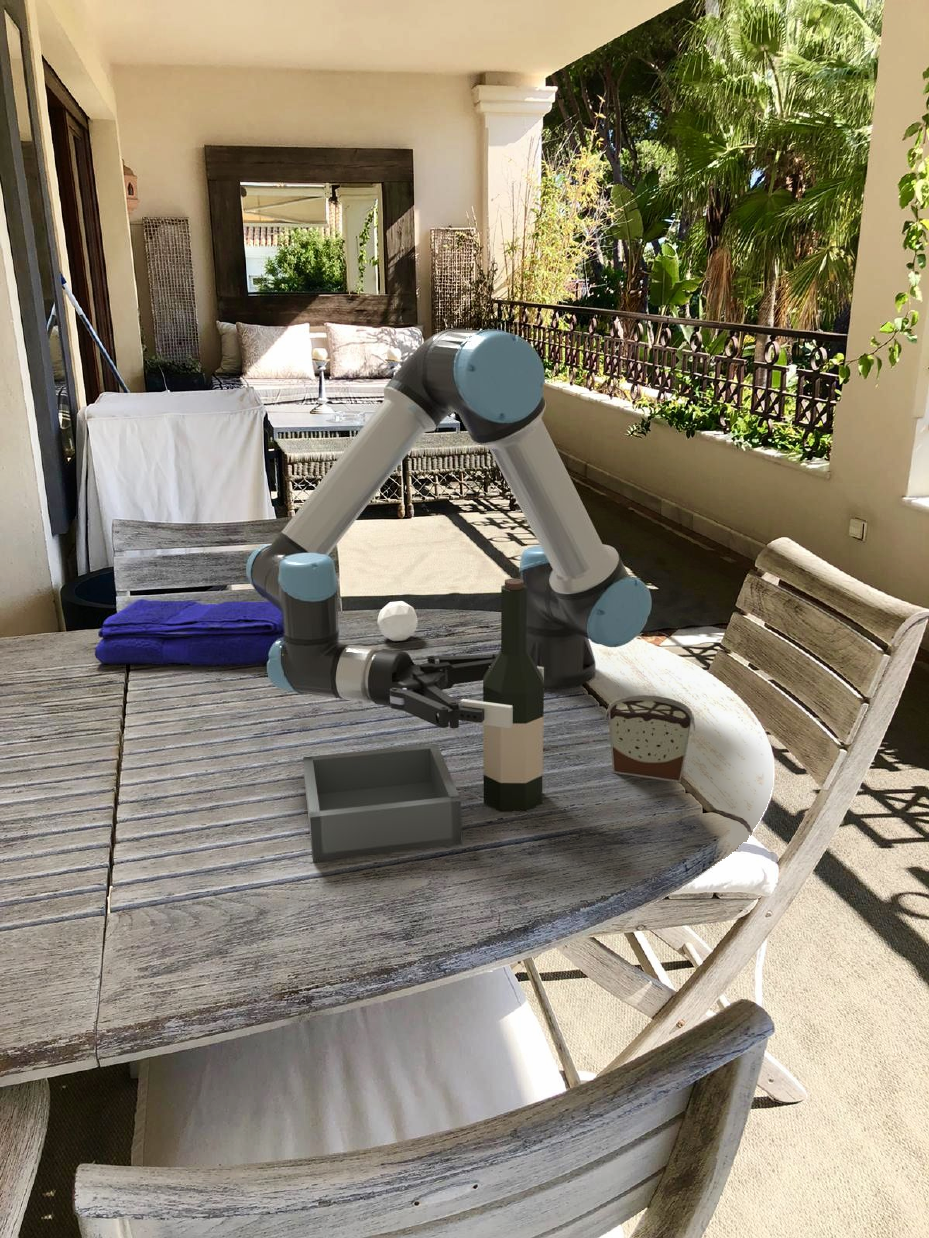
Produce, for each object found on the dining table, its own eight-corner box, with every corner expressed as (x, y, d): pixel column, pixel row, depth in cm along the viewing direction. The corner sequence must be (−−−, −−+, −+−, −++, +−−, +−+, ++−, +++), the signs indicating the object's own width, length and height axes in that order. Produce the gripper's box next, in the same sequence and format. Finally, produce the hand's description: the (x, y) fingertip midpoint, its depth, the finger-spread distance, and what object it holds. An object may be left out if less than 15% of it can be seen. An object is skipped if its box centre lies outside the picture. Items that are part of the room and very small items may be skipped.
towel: (144, 623, 203) (139, 582, 200) (314, 624, 201) (312, 583, 198) (92, 670, 178) (85, 624, 175) (286, 671, 176) (283, 625, 173)
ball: (391, 649, 193) (386, 611, 196) (427, 639, 190) (421, 600, 193) (372, 642, 186) (367, 602, 189) (409, 630, 184) (403, 591, 186)
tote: (438, 783, 134) (437, 743, 133) (461, 844, 120) (461, 800, 118) (305, 797, 131) (303, 757, 129) (313, 861, 116) (310, 817, 114)
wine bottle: (552, 789, 133) (557, 576, 123) (530, 818, 125) (533, 594, 116) (496, 777, 136) (496, 569, 126) (471, 805, 129) (469, 586, 119)
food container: (696, 764, 139) (701, 699, 136) (691, 784, 134) (696, 716, 130) (610, 752, 143) (613, 689, 140) (602, 771, 138) (604, 705, 134)
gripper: (414, 670, 144) (553, 688, 137) (335, 739, 122) (496, 764, 115) (413, 621, 142) (554, 637, 135) (332, 683, 120) (496, 706, 113)
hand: (528, 696), depth 125 cm, fingers open, 13 cm apart
